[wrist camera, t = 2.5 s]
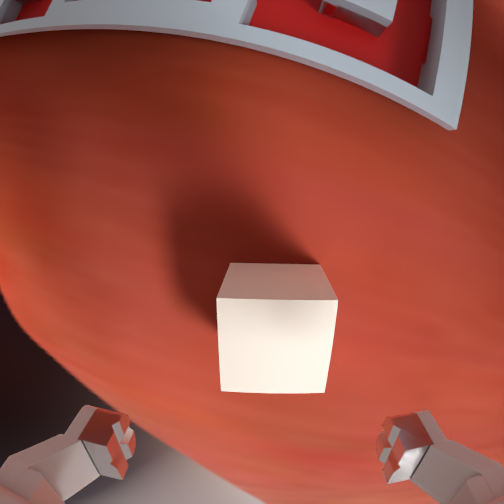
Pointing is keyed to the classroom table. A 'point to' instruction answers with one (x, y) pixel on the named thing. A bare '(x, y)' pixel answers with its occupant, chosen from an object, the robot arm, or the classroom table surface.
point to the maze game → (301, 37)
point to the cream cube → (275, 328)
